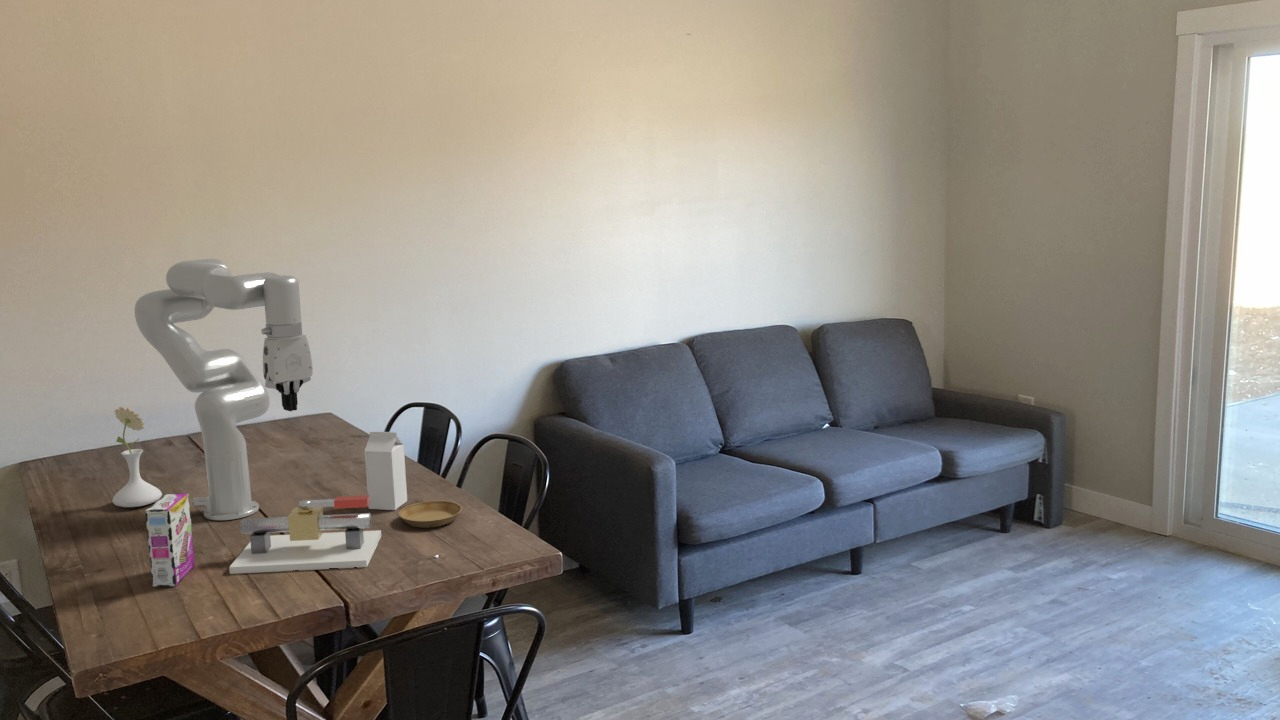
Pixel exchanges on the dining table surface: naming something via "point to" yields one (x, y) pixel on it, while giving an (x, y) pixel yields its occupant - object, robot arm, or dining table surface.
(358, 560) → the valve board
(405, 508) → the plant saucer
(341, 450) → the dining table surface
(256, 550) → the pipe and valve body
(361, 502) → the valve lever
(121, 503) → the flower in vase
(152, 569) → the candy bar box
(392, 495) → the milk carton
